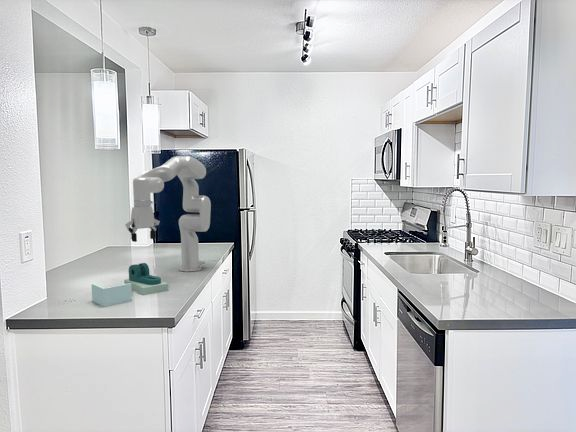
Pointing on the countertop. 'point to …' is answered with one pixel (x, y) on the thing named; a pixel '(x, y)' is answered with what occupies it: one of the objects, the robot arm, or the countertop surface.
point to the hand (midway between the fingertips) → (143, 240)
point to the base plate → (147, 287)
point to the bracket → (142, 275)
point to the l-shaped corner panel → (111, 294)
